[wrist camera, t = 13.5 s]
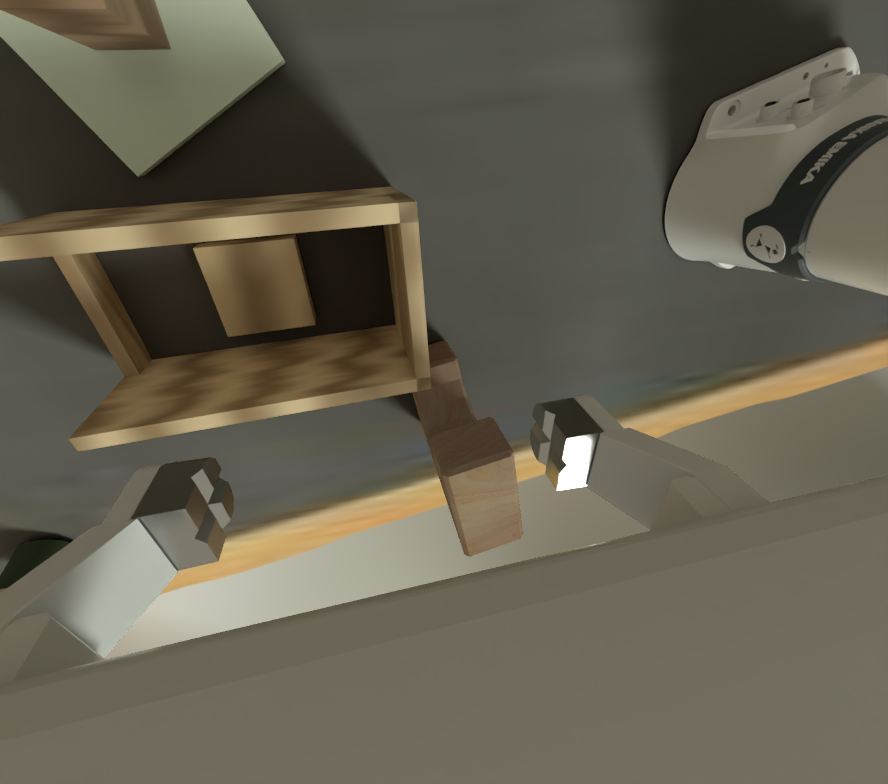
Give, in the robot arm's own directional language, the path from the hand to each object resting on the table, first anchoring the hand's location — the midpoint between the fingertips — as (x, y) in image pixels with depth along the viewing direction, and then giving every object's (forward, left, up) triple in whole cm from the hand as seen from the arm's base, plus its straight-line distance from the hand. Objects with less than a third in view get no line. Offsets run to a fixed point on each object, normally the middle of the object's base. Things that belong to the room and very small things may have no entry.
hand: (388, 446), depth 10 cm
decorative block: (+2, +19, -31) cm, 37 cm away
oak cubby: (+9, -1, -31) cm, 32 cm away
